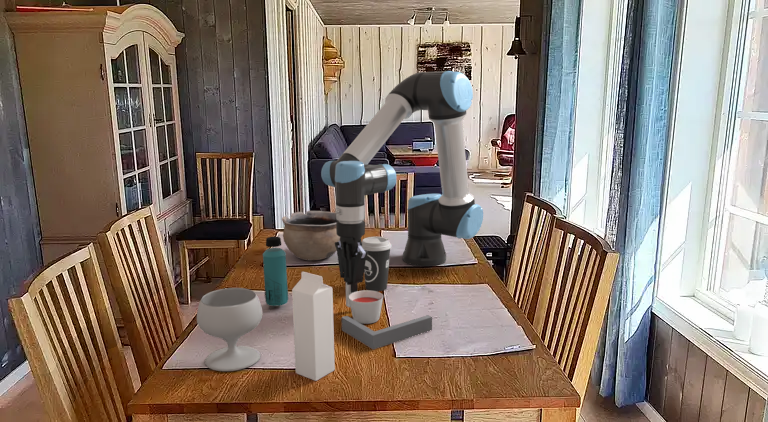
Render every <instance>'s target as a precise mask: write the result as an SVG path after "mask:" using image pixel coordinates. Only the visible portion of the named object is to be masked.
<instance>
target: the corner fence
mask: <svg viewBox="0 0 768 422" xmlns="http://www.w3.org/2000/svg"><path fill="white" fill-rule="evenodd" d="M430 330H431V331H432V330H433V317H432V316H430V315H429V314H426V315H423V316H420V317H417V318H415V319H411V320H407V321H405V322H404V321H403V322H401V323H399V324H395V325H391V326H387V327H385V328H382V329H378V330H373V329H371V328H370V327H367V326H366V325H364V324H362V323H359V322H357V321H355V320H354V319H353V317H350V316H348V315H345V316H342V317H341V331H342V332H344V333H345V334H347V335H349V336H350V337H352V338H354V339H355V340H357V341H358V342H360V343H362V345H364V346H366V347H368V348H370V349H371V350H376V349H379V348H381V347H385V346H389V345H391V344H395V343H397V341H398V342H400V341H399V340H401V341H403V340H402V339H404V340H406V339H405V338H407V339H409V337H410V338H412V336H413V337H416V336H418V334H419V335H421V333H422V334H425V333H427V331H428V332H431V331H430ZM424 332H425V333H424ZM415 335H416V336H415ZM394 342H395V343H394Z"/></svg>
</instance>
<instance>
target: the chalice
mask: <svg viewBox="0 0 768 422" xmlns="http://www.w3.org/2000/svg"><path fill="white" fill-rule="evenodd" d="M196 313H197V314H196V323H197V326H198V327H199V328H200V330H201V331H202V332H203V333H204V334H206V335H208V336H210V337H211V336H212V337H214V338H218V339H222V340H224V342H226V344H227V347H222V348H219V349H216V350H215V351H213V352H211V353H210V354H209V355H207V357H205V359H204V364H205V366H206V367H207V368H208V369H210V370H213V371H219V372H234V371H235V372H236V371H240V370H244V369H247V368H249V367H252V366H253V365H255V364H256V363H258V361H259V360H260V358H261V352H260V351H259V350H258V349H257V348H254V347H251V346H248V345H247V346H246V345H237V344H238V343H237V342H238V340H239V339H240V338H241V337H243V336H245V335H247V334H248V333H251V332H252V331H253V330H255V328H257V327H258V325H259V324H260V323H261V321H262V318H263V308H262V304H261V300H260V298H259V296H258V295H257V293H256V292H255V291H254V290H252V289H248V288H246V287H245V288H244V287H228V288H220V289H217V290H213V291H210V292H207V293H206V294H205V295H202V298H201V299H200V301H199V303H198V307H197V312H196Z"/></svg>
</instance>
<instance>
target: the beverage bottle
mask: <svg viewBox="0 0 768 422" xmlns="http://www.w3.org/2000/svg"><path fill="white" fill-rule="evenodd" d="M265 246H266V247H267V249H266V250H265V251H264V252H263V253H262V260H263V278H264V279H263V281H264V291H263V292H264V298H265V304H266V305H267V306H270V307H271V306H272V307H273V306H274V307H278V306H279V307H280V306H283V305H286V304H287V303H288V302H289V291H288V290H289V286H288V284H289V283H288V274H287V259H286V258H287V257H286V256H287V253H286V251H285V250H283V248H280V247H281V246H282V239H281V237H280V236H268V237H266V239H265Z"/></svg>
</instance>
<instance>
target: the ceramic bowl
mask: <svg viewBox="0 0 768 422" xmlns="http://www.w3.org/2000/svg"><path fill="white" fill-rule="evenodd" d="M281 220H282V223H283V225H284V226H283V232H282V238H283V242H284V244H285V245H286V247H287V249H288V251H290V252H291V254H293V255H294V256H295V257H296V258H299V259H301V260H304V261H318V260H319V261H321V260H324V259H328V258H330V257H331V256H333V255H334V254H335V253H337V250H336V247H335V242H339V241H340V237H339V236H338V235H337V234H336V222H337V221H338V220H337V219H336V212H333V211H323V210H307V211H306V212H305V213H304V212H302V211H297V212H292V213H291V214H290V218H289V217H287V216H286V215H285V216H283V217H282V218H281Z"/></svg>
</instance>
